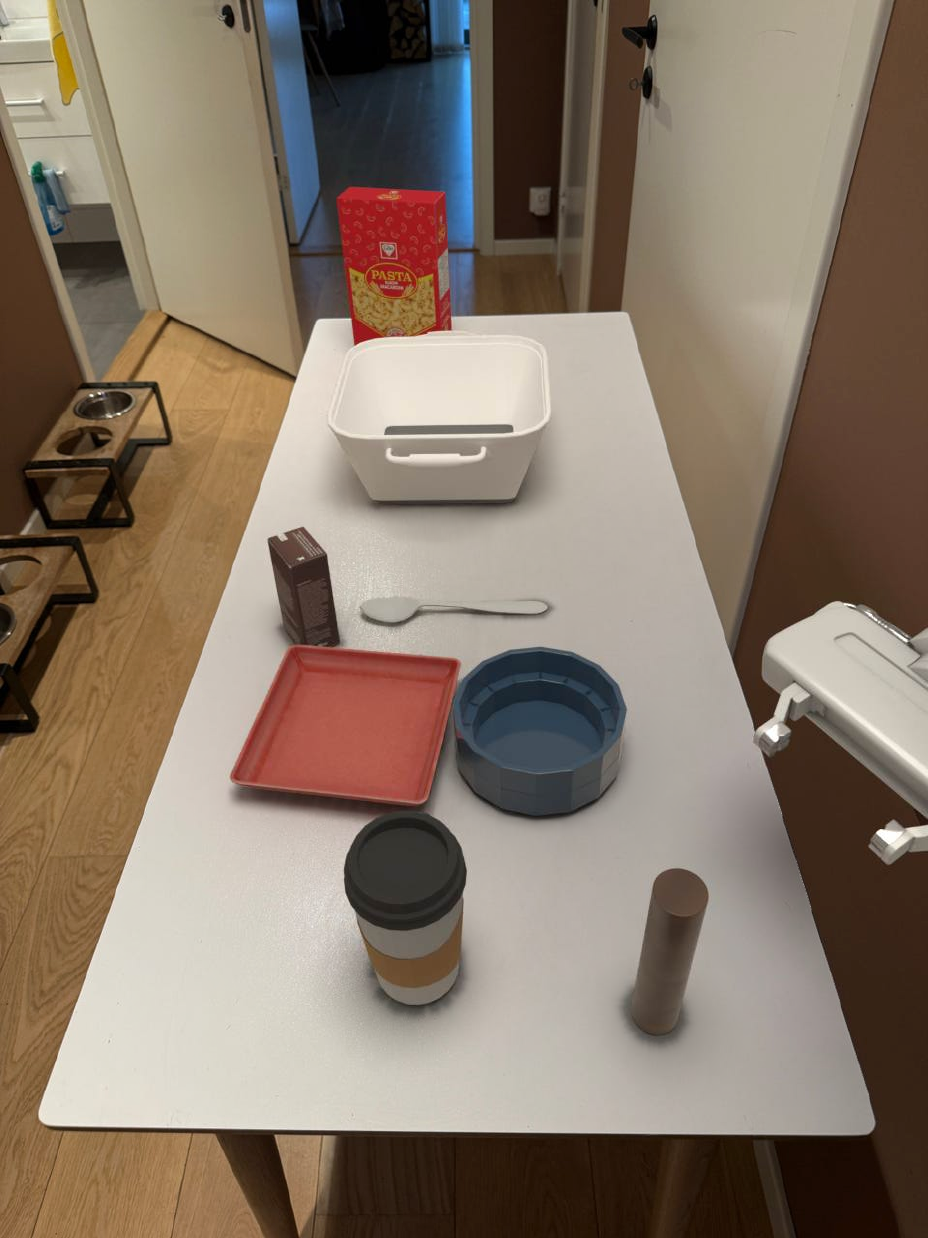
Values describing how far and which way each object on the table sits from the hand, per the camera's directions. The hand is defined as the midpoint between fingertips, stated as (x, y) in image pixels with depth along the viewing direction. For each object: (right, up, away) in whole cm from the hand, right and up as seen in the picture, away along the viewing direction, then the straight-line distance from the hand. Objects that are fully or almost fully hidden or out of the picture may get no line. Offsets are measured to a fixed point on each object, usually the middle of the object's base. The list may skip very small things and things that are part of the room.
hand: (817, 795), depth 57 cm
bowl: (-15, -2, +29) cm, 33 cm away
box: (-38, +9, +43) cm, 58 cm away
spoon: (-23, +12, +45) cm, 52 cm away
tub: (-24, +31, +67) cm, 78 cm away
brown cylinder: (-8, -18, +11) cm, 22 cm away
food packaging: (-31, +53, +92) cm, 111 cm away
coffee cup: (-25, -16, +14) cm, 33 cm away
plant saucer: (-32, -1, +32) cm, 45 cm away
